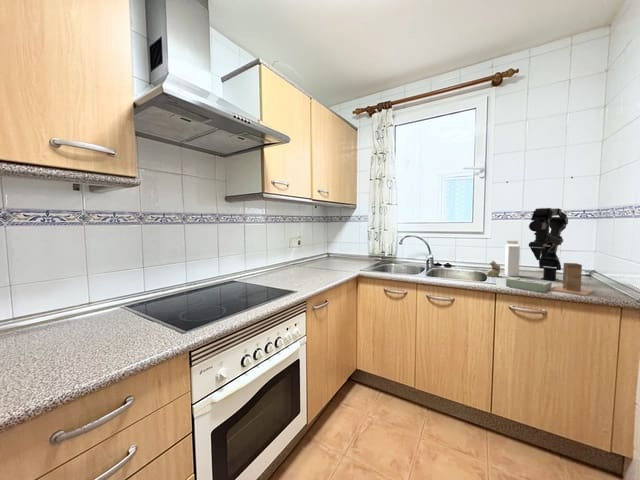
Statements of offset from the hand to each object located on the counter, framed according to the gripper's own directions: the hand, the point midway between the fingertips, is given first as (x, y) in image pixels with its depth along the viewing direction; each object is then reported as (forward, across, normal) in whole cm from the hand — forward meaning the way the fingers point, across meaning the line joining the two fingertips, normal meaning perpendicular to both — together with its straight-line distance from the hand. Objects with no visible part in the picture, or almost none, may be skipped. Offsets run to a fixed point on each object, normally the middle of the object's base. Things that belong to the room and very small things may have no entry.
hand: (541, 259), depth 145 cm
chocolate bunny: (+13, 0, +24) cm, 27 cm away
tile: (+13, -10, -15) cm, 22 cm away
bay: (+13, -16, 0) cm, 21 cm away
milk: (+13, +11, +18) cm, 25 cm away
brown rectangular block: (+12, -10, -15) cm, 22 cm away
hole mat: (+13, -5, +4) cm, 14 cm away
